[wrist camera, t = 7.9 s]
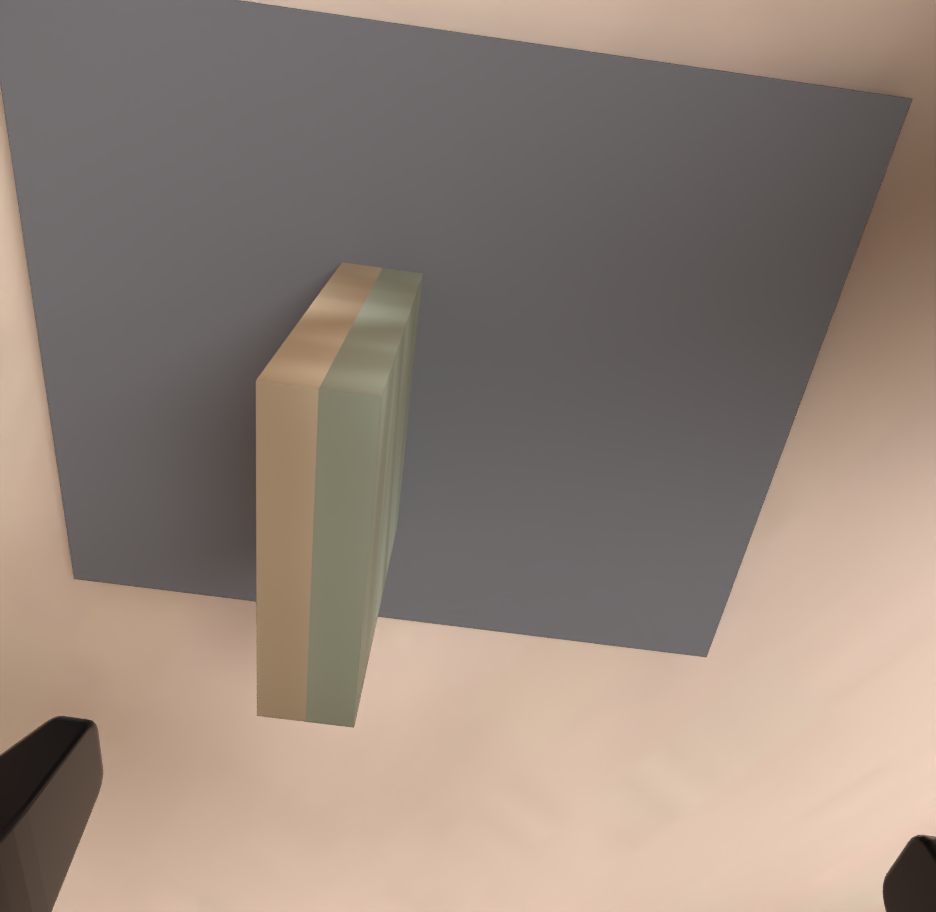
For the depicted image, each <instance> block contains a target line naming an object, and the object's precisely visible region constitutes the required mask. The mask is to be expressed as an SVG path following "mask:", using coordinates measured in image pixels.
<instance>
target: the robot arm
mask: <svg viewBox="0 0 936 912" xmlns="http://www.w3.org/2000/svg"><path fill="white" fill-rule="evenodd" d="M102 779H103V765H102V757H101V750H100V742H99V735H98V729H97V726H96V724H95V723H94V722H93V721H91V720H88V719H81V718H73V717H66V716H58V717H55V718H52V719H50V720H48V721H47V722H45V723H44V724H42V725H41V726H40V727H38V728H37V729H35V730H34V731H33V732H31V733H30V734H29V735H27V736H26V737H24V738H23V739H22V740H20V741H19V742H17V743H16V744H15V745H13V746H12V747H11V748H9V749H8V750H6V751H5V752H4V753H2V754H1V755H0V912H52V909H53V907H54V904H55V902H56V899H57V897H58V894H59V892H60V889H61V887H62V884H63V882H64V879H65V877H66V874H67V872H68V869H69V867H70V864H71V862H72V859H73V857H74V854H75V852H76V849H77V847H78V844H79V842H80V839H81V837H82V834H83V832H84V829H85V827H86V824H87V822H88V819H89V817H90V814H91V812H92V809H93V807H94V804H95V802H96V799H97V797H98V794H99V791H100V788H101V784H102ZM883 900H884V905H885V909H886V912H936V837H934V836H927V835H917V836H915V837H913V838H911V839H910V841H909V842H908V843H907V845H906V846H905V848H904V849H903V851H902V852H901V854H900V855H899V856H898V858H897V859H896V861H895V862H894V864H893V865H892V867H891V868H890V870H889V871H888V873H887V874H886V876H885V879H884V883H883Z"/></svg>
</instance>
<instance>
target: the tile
mask: <svg viewBox="0 0 936 912" xmlns="http://www.w3.org/2000/svg"><path fill="white" fill-rule="evenodd" d="M422 278H423V273H415V272H408V271H401V270H394V269H387V268H379V267H372V266H365V265H358V264H351V263H343V262H342V263H341V264H340V266H339V267H338V269H337V270H336V271H335V273H334V274H333V275H332V277H331V278H330V279H329V281H328V282H327V284H326V285H325V286H324V288H323V289H322V290H321V292H320V293H319V295H318V296H317V297H316V299H315V300H314V301H313V303H312V304H311V306H310V307H309V308H308V310H307V311H306V312H305V314H304V315H303V317H302V318H301V319H300V321H299V322H298V323H297V325H296V326H295V328H294V329H293V330H292V332H291V333H290V334H289V336H288V337H287V338H286V340H285V341H284V343H283V344H282V345H281V347H280V348H279V349H278V351H277V352H276V354H275V355H274V356H273V358H272V359H271V360H270V362H269V363H268V365H267V366H266V367H265V369H264V370H263V371H262V373H261V374H260V376H259V377H258V378H257V380H256V570H257V716H263V717H271V718H280V719H288V720H296V721H304V722H313V723H321V724H329V725H337V726H346V727H354V725H355V720H356V716H357V711H358V706H359V702H360V697H361V692H362V688H363V683H364V678H365V674H366V669H367V664H368V660H369V655H370V650H371V646H372V641H373V636H374V632H375V627H376V622H377V617H378V613H379V608H380V603H381V599H382V594H383V589H384V585H385V580H386V575H387V571H388V566H389V561H390V557H391V552H392V547H393V543H394V538H395V533H396V529H397V522H398V513H399V503H400V493H401V483H402V473H403V464H404V454H405V444H406V434H407V425H408V415H409V405H410V395H411V386H412V376H413V366H414V356H415V346H416V337H417V327H418V317H419V307H420V298H421V288H422Z"/></svg>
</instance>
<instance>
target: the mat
mask: <svg viewBox="0 0 936 912" xmlns="http://www.w3.org/2000/svg"><path fill="white" fill-rule="evenodd" d="M0 83H1V90H2V96H3V103H4V110H5V117H6V123H7V130H8V137H9V143H10V150H11V157H12V164H13V170H14V177H15V184H16V191H17V197H18V204H19V211H20V217H21V224H22V231H23V238H24V244H25V251H26V258H27V265H28V271H29V278H30V285H31V292H32V298H33V305H34V312H35V318H36V325H37V332H38V339H39V345H40V352H41V359H42V366H43V372H44V379H45V386H46V392H47V399H48V406H49V413H50V419H51V426H52V433H53V440H54V446H55V453H56V460H57V467H58V473H59V480H60V487H61V493H62V500H63V507H64V514H65V520H66V527H67V534H68V541H69V547H70V554H71V561H72V567H73V574H74V579H80V580H88V581H96V582H104V583H112V584H120V585H128V586H136V587H144V588H152V589H160V590H168V591H176V592H184V593H193V594H201V595H209V596H217V597H225V598H233V599H241V600H249V601H257V570H256V380H257V378H258V377H259V376H260V374H261V373H262V371H263V370H264V369H265V367H266V366H267V365H268V363H269V362H270V360H271V359H272V358H273V356H274V355H275V354H276V352H277V351H278V349H279V348H280V347H281V345H282V344H283V343H284V341H285V340H286V338H287V337H288V336H289V334H290V333H291V332H292V330H293V329H294V328H295V326H296V325H297V323H298V322H299V321H300V319H301V318H302V317H303V315H304V314H305V312H306V311H307V310H308V308H309V307H310V306H311V304H312V303H313V301H314V300H315V299H316V297H317V296H318V295H319V293H320V292H321V290H322V289H323V288H324V286H325V285H326V284H327V282H328V281H329V279H330V278H331V277H332V275H333V274H334V273H335V271H336V270H337V269H338V267H339V266H340V264H341V263H342V262H343V263H351V264H358V265H365V266H372V267H379V268H387V269H394V270H401V271H408V272H415V273H423V278H422V288H421V298H420V307H419V317H418V327H417V337H416V346H415V356H414V366H413V376H412V386H411V395H410V405H409V415H408V425H407V434H406V444H405V454H404V464H403V473H402V483H401V493H400V503H399V513H398V522H397V529H396V533H395V538H394V543H393V547H392V552H391V557H390V561H389V566H388V571H387V575H386V580H385V585H384V589H383V594H382V599H381V603H380V608H379V613H378V617H386V618H394V619H402V620H410V621H418V622H426V623H434V624H442V625H451V626H459V627H467V628H475V629H483V630H491V631H499V632H507V633H515V634H523V635H531V636H539V637H547V638H555V639H563V640H571V641H580V642H588V643H596V644H604V645H612V646H620V647H628V648H636V649H644V650H652V651H660V652H668V653H676V654H684V655H692V656H700V657H707V654H708V652H709V649H710V646H711V643H712V641H713V638H714V635H715V633H716V630H717V627H718V624H719V622H720V619H721V616H722V614H723V611H724V608H725V605H726V603H727V600H728V597H729V595H730V592H731V589H732V587H733V584H734V581H735V578H736V576H737V573H738V570H739V568H740V565H741V562H742V559H743V557H744V554H745V551H746V549H747V546H748V543H749V540H750V538H751V535H752V532H753V530H754V527H755V524H756V522H757V519H758V516H759V513H760V511H761V508H762V505H763V503H764V500H765V497H766V494H767V492H768V489H769V486H770V484H771V481H772V478H773V475H774V473H775V470H776V467H777V465H778V462H779V459H780V456H781V454H782V451H783V448H784V446H785V443H786V440H787V438H788V435H789V432H790V429H791V427H792V424H793V421H794V419H795V416H796V413H797V410H798V408H799V405H800V402H801V400H802V397H803V394H804V391H805V389H806V386H807V383H808V381H809V378H810V375H811V373H812V370H813V367H814V364H815V362H816V359H817V356H818V354H819V351H820V348H821V345H822V343H823V340H824V337H825V335H826V332H827V329H828V326H829V324H830V321H831V318H832V316H833V313H834V310H835V307H836V305H837V302H838V299H839V297H840V294H841V291H842V289H843V286H844V283H845V280H846V278H847V275H848V272H849V270H850V267H851V264H852V261H853V259H854V256H855V253H856V251H857V248H858V245H859V242H860V240H861V237H862V234H863V232H864V229H865V226H866V224H867V221H868V218H869V215H870V213H871V210H872V207H873V205H874V202H875V199H876V196H877V194H878V191H879V188H880V186H881V183H882V180H883V177H884V175H885V172H886V169H887V167H888V164H889V161H890V158H891V156H892V153H893V150H894V148H895V145H896V142H897V140H898V137H899V134H900V131H901V129H902V126H903V123H904V121H905V118H906V115H907V112H908V110H909V107H910V104H911V102H912V99H911V98H904V97H897V96H890V95H883V94H877V93H870V92H863V91H856V90H849V89H842V88H836V87H829V86H822V85H815V84H808V83H801V82H794V81H788V80H781V79H774V78H767V77H760V76H753V75H747V74H740V73H733V72H726V71H719V70H712V69H705V68H699V67H692V66H685V65H678V64H671V63H664V62H657V61H651V60H644V59H637V58H630V57H623V56H616V55H610V54H603V53H596V52H589V51H582V50H575V49H568V48H562V47H555V46H548V45H541V44H534V43H527V42H521V41H514V40H507V39H500V38H493V37H486V36H479V35H473V34H466V33H459V32H452V31H445V30H438V29H432V28H425V27H418V26H411V25H404V24H397V23H390V22H384V21H377V20H370V19H363V18H356V17H349V16H342V15H336V14H329V13H322V12H315V11H308V10H301V9H295V8H288V7H281V6H274V5H267V4H260V3H253V2H247V1H240V0H0Z"/></svg>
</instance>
